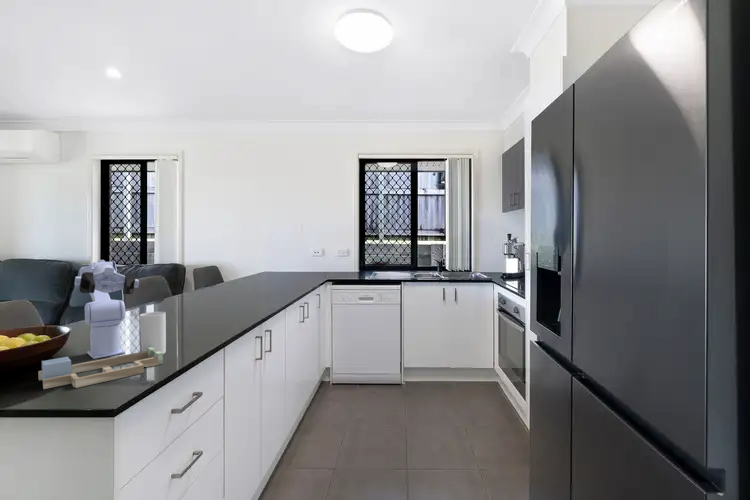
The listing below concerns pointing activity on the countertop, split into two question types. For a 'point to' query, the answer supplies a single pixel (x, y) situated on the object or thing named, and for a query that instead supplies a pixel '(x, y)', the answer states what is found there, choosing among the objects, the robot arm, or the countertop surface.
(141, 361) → the beige flat frame
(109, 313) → the robot arm
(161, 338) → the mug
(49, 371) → the block
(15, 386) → the countertop surface
